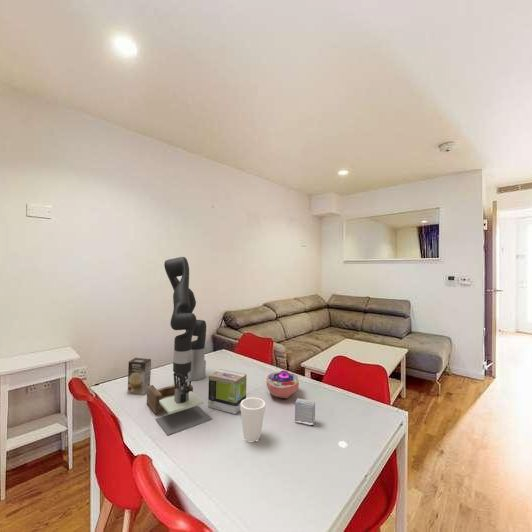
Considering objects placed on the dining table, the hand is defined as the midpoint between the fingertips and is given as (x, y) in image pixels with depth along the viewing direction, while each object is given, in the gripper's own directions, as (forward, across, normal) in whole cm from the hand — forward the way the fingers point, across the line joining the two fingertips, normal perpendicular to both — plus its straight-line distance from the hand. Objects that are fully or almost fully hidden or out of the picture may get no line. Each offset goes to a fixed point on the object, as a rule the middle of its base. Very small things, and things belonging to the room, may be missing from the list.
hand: (181, 400), depth 120 cm
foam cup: (+7, -30, -16) cm, 34 cm away
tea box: (+7, -4, -21) cm, 22 cm away
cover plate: (+1, 0, 0) cm, 1 cm away
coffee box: (+7, +35, +8) cm, 37 cm away
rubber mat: (+7, -3, 0) cm, 8 cm away
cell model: (+7, -10, -49) cm, 51 cm away
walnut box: (+7, +13, 0) cm, 15 cm away
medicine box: (+7, -34, -40) cm, 53 cm away
